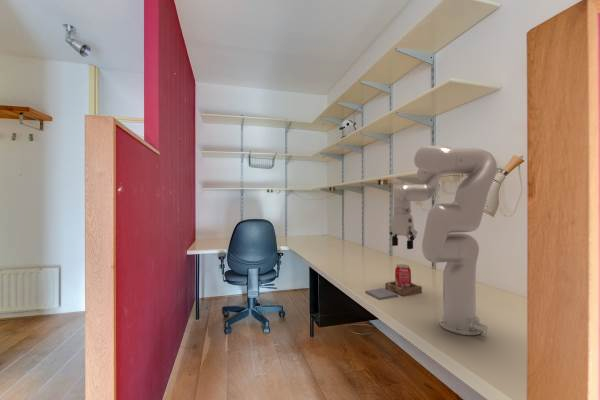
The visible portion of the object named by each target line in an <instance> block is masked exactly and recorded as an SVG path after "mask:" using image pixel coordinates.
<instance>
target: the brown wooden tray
mask: <svg viewBox="0 0 600 400" xmlns="http://www.w3.org/2000/svg"><path fill="white" fill-rule="evenodd" d="M384 285H385V289H386V290H389V291H391V292H393V293H396V294H398V296H401V297H406V296H412V295H417V294H422V291H423V289H422V285H418V284H416V283H413V282H411V287H409V288H400V287H397V286H395V280H393V281H389V282H385V284H384Z"/></svg>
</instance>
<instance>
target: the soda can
mask: <svg viewBox="0 0 600 400" xmlns="http://www.w3.org/2000/svg"><path fill="white" fill-rule="evenodd" d="M394 270H395V271H394V275H395V276H394V278H395V279H394V281H395V286H397V287H400V288H409V287H411V283H412V273H411V272H412V270H411V267H410V265H408V264H402V263H401V264H396V267H395V269H394Z"/></svg>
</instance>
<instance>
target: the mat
mask: <svg viewBox="0 0 600 400" xmlns="http://www.w3.org/2000/svg"><path fill="white" fill-rule="evenodd" d="M365 294H367V295H369V296H372V297H373V298H375V299H377V300H379V301H381V300H387V299H392V298H397V297H398V296H399V295H398V294H396V293H394V292H391V291H389V290H387V289H386V288H384V287H380V288H374V289H368V290H365Z"/></svg>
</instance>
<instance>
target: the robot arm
mask: <svg viewBox="0 0 600 400" xmlns="http://www.w3.org/2000/svg"><path fill="white" fill-rule="evenodd" d="M413 160H414V165H415V166H416V168H418V169H417V172H416V176H417V178H418V180H419V181H420V182H421V183H423V184H417V183H416V184H401V185H397V186H396V185H395V186H394V188H393V215H392V222H391V223H392V224H391V226H390V227H389V228H388V232H389V235H390V236H391V246H392V247H396V246H399V237H398V236H402V237H403V236H404V237H406V239H407V240H406V249H407V250H413V249H414V241H415V240H416V237H417V236H418V235H417V234H418V231H417V230H415V223H414V218H413V215H412V214H411V213H412V209H411V203H412V202H424V201H428V200H429V199H431V198H432V197H433V196H435V195H436V193H437V192H438V190H439V187H440V186H439V180H440V179H441V177H443V176H444V175H466V177H465V178H464V179H463V180H462V181H461V182H460V184H459V185H458V186H457V189H456V191H455V196H454V200H453V201H452V202H450V203H437V204H435V205H434V206H432V207H431V208H430V210H429V211H428V213H427V217H426V221H425V227H424V232H423V237H422V243H421V249H422V250H421V251H422V255H423V257H424V258H425V259H426V260H427V261H428V262H431V263H435V264H437V263H446V264H445V266H444V269H443V273H442V293H443V295H442V300H443V303H442V304H443V305H442V309H443V310H442V311H443V316H440V317H439V318H438V325H439V326H440V327H441V328H443V329H445V330H447V331H449V332H451V333H454V334H458V335H462V336H478V335H480V334H483V335H486V334H487V332H488V325H486V324H485V323H481V322H480V317H479V316H477V299H476V298H477V297H476V296H477V295H476V293H477V291H476V289H477V288H476V283H477V282H476V275H477V274H476V270H477V263H478V259H479V258H478V257H479V253H480V247H479V243H478V241H477V240H476V239H477V238H475V237H474V236H472V235H471V234H467V233H471V232H475V231H476V230H478V229H479V227H480V225H481V222H482V218H483V215H484V211H485V207H486V204H487V200H488V195H489V191H490V189H491V187H492V186H493V183H494V180H495V178H496V176H497V168H498V167H497V165H498V164H497V160H496V159H495V157H494V155H493V154H492V153H491V152H489V151H487V150H485V149H483V148H476V147H475V148H473V147H451V146H448V145H447V146H446V145H423V146H421V147H420V148H419V149H417V151H416V152H415V154H414V159H413Z"/></svg>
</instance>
